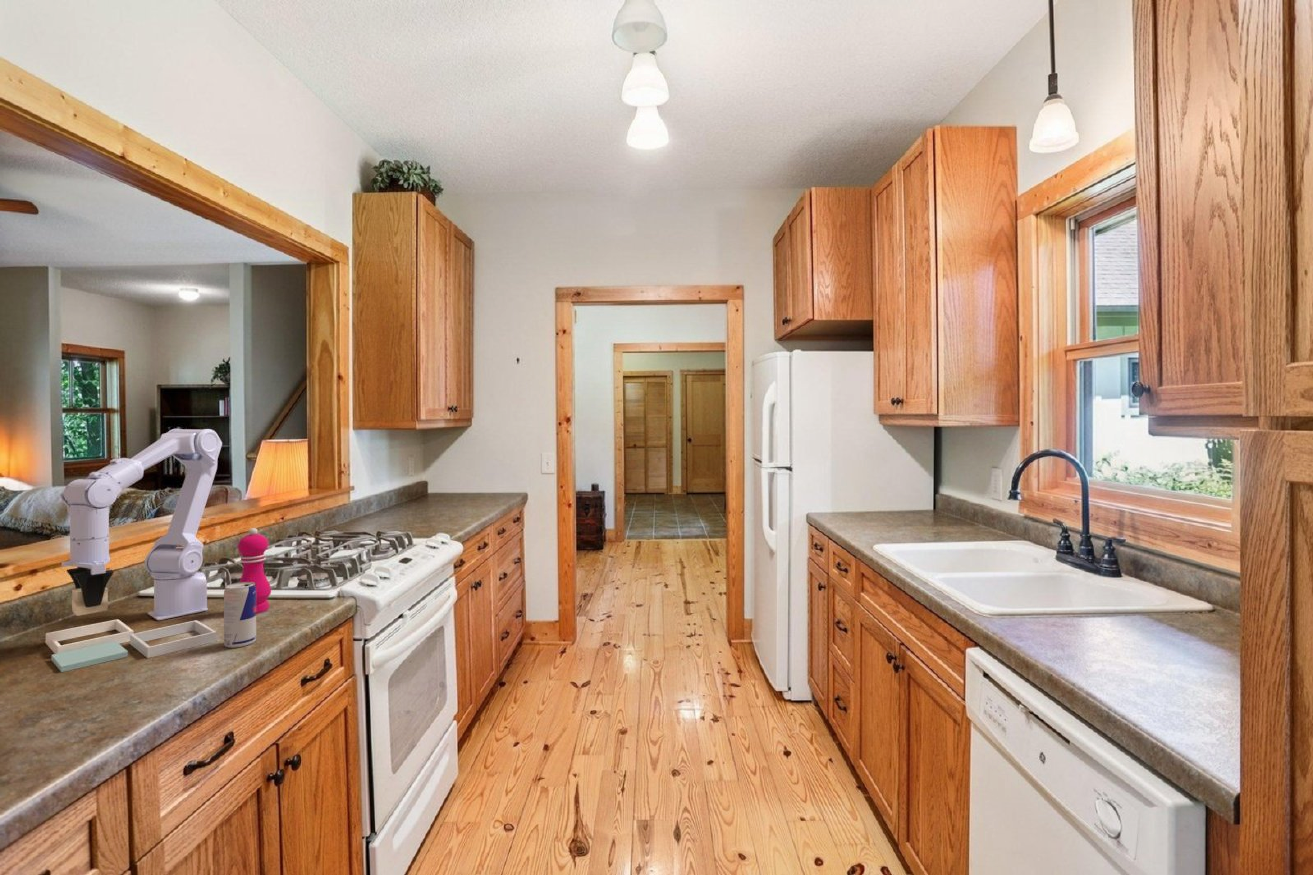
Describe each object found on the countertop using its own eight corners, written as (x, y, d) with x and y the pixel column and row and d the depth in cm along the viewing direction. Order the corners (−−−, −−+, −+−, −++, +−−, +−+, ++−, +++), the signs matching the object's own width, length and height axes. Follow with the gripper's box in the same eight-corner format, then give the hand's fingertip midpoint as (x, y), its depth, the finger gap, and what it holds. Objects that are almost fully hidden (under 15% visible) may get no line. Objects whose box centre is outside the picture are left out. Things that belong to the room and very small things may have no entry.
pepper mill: (236, 617, 134) (236, 531, 134) (233, 610, 140) (233, 527, 139) (273, 611, 139) (273, 528, 139) (268, 604, 144) (268, 524, 144)
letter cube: (102, 606, 121) (102, 584, 121) (107, 610, 119) (107, 587, 119) (72, 611, 118) (72, 589, 118) (77, 615, 115) (77, 592, 115)
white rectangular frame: (196, 629, 126) (196, 620, 126) (216, 641, 119) (216, 631, 119) (130, 644, 117) (130, 634, 117) (147, 658, 110) (147, 647, 110)
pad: (115, 646, 116) (115, 641, 116) (127, 656, 111) (127, 651, 111) (51, 660, 109) (51, 654, 109) (61, 672, 104) (61, 666, 104)
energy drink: (262, 640, 120) (262, 583, 120) (236, 649, 115) (236, 589, 115) (244, 637, 122) (244, 580, 122) (217, 646, 117) (217, 587, 117)
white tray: (118, 628, 126) (118, 619, 126) (133, 640, 119) (133, 630, 119) (45, 643, 117) (45, 633, 117) (57, 657, 110) (57, 646, 110)
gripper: (54, 536, 119) (55, 601, 119) (70, 545, 111) (70, 615, 111) (101, 531, 125) (101, 594, 125) (119, 539, 116) (119, 606, 117)
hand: (90, 603), depth 118 cm, fingers closed on letter cube, 4 cm apart
